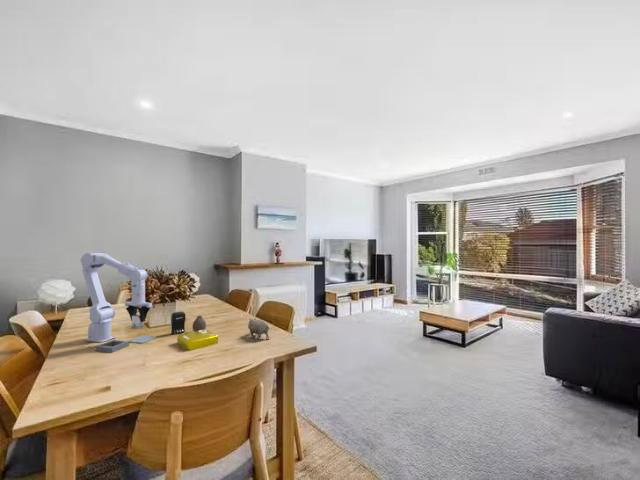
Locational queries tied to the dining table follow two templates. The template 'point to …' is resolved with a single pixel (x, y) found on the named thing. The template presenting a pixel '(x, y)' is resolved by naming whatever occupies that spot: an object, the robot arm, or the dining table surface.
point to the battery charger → (178, 322)
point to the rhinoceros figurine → (258, 328)
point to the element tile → (197, 339)
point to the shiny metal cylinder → (137, 322)
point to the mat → (142, 339)
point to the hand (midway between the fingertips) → (138, 321)
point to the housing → (116, 345)
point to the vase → (199, 324)
